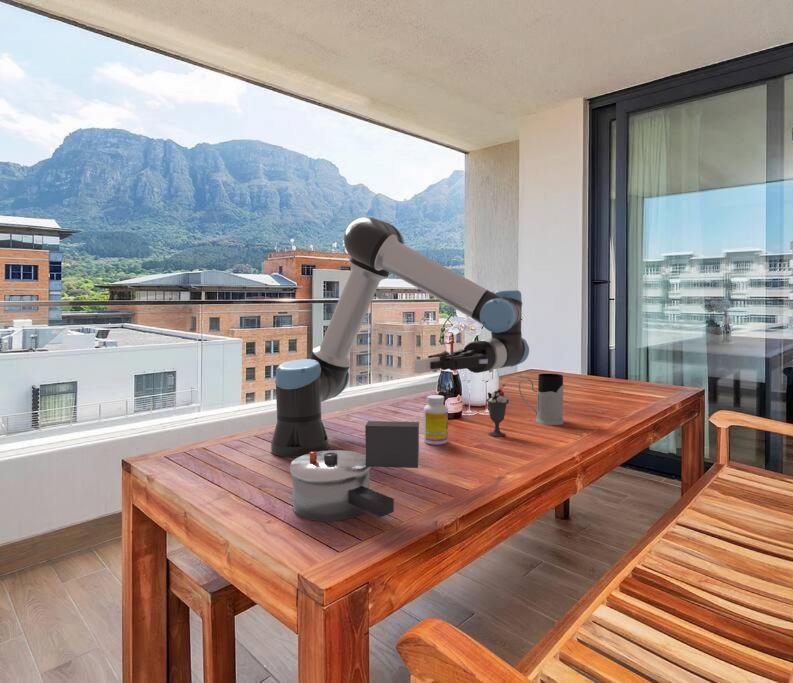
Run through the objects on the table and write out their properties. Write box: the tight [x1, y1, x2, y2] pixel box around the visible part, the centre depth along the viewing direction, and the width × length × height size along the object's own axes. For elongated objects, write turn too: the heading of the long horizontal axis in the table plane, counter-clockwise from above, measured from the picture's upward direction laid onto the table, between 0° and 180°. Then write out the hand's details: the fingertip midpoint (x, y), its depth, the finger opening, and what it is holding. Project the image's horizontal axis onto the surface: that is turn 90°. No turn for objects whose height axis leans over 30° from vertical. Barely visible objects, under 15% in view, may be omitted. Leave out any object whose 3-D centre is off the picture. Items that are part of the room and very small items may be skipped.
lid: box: [289, 420, 420, 484], centre depth 99 cm, size 25×16×9 cm, turn 84°
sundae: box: [485, 384, 510, 438], centre depth 148 cm, size 7×7×15 cm
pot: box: [291, 471, 395, 522], centre depth 98 cm, size 26×15×7 cm, turn 44°
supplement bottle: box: [423, 394, 449, 446], centre depth 141 cm, size 7×7×13 cm
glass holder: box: [518, 373, 565, 426], centre depth 163 cm, size 9×14×15 cm, turn 70°
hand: (417, 366), depth 106 cm, fingers closed
